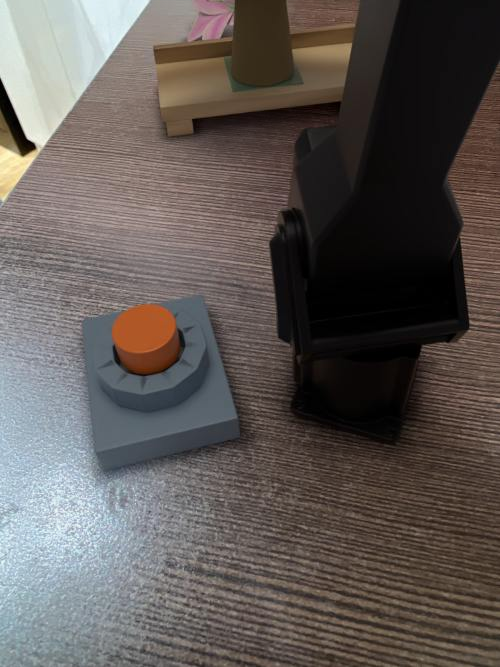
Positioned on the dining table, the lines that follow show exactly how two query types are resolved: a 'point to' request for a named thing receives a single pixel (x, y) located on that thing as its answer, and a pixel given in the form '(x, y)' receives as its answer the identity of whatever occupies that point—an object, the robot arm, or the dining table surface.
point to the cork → (261, 43)
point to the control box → (158, 392)
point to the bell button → (146, 339)
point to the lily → (212, 18)
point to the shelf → (234, 97)
